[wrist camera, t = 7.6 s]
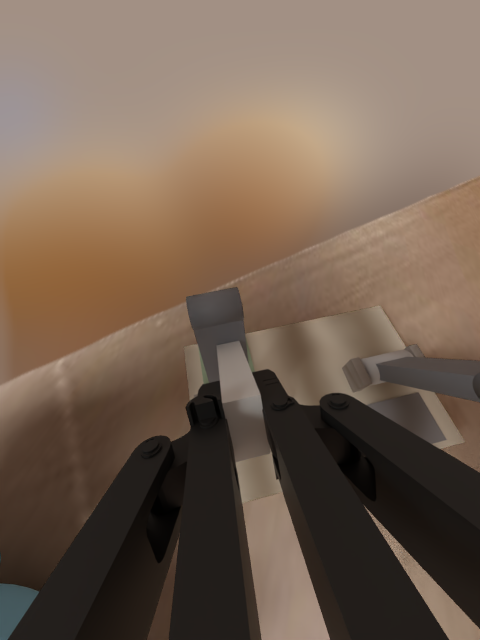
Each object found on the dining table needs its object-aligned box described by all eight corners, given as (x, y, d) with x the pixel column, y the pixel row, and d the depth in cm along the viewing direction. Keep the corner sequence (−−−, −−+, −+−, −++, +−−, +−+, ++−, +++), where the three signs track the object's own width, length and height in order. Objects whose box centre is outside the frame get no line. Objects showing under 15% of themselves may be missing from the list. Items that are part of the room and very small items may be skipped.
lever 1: (215, 428, 20) (177, 313, 13) (212, 404, 22) (177, 290, 15) (261, 417, 21) (251, 298, 13) (254, 394, 23) (242, 278, 15)
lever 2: (361, 383, 23) (517, 425, 11) (355, 358, 23) (500, 372, 11) (400, 374, 23) (593, 405, 11) (393, 349, 23) (576, 353, 11)
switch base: (208, 507, 21) (196, 520, 16) (189, 357, 28) (177, 336, 23) (440, 444, 23) (490, 439, 18) (368, 319, 30) (391, 292, 25)
